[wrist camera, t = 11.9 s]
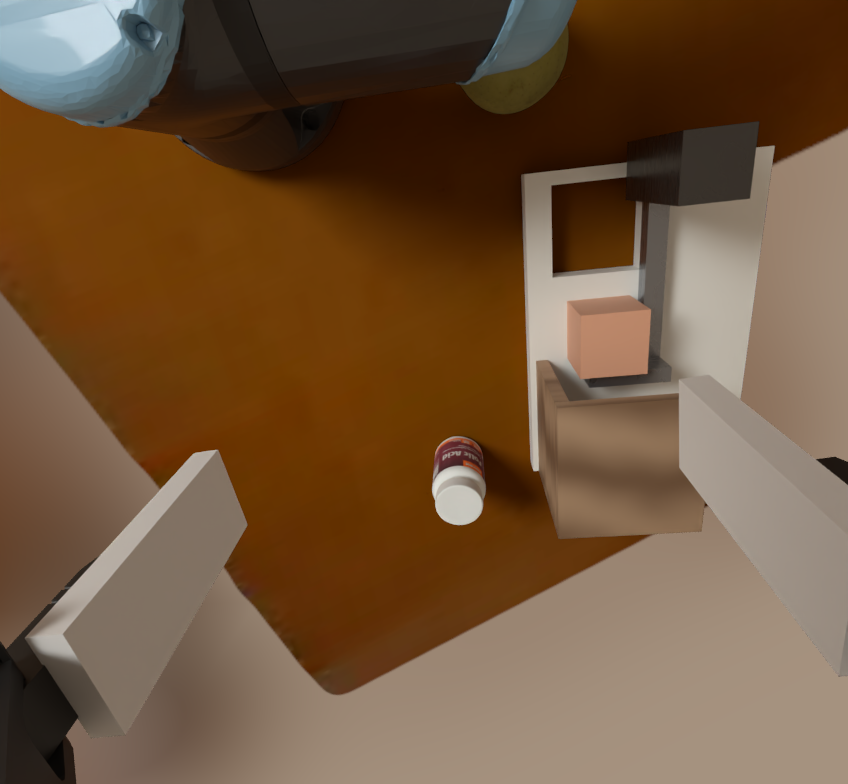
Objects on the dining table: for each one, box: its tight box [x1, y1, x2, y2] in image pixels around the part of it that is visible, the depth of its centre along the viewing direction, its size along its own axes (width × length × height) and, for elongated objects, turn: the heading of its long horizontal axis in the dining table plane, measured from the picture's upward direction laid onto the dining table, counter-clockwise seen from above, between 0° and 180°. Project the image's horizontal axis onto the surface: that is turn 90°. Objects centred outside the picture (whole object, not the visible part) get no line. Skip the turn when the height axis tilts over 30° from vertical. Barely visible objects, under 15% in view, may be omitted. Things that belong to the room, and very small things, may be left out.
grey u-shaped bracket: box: [584, 121, 759, 388], centre depth 37 cm, size 18×8×10 cm, turn 6°
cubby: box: [536, 360, 705, 539], centre depth 42 cm, size 11×10×10 cm
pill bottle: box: [432, 436, 486, 525], centre depth 47 cm, size 5×5×8 cm
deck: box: [521, 146, 775, 471], centre depth 44 cm, size 26×18×2 cm
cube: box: [567, 295, 651, 379], centre depth 41 cm, size 5×5×5 cm
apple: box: [460, 23, 569, 114], centre depth 35 cm, size 8×8×7 cm
